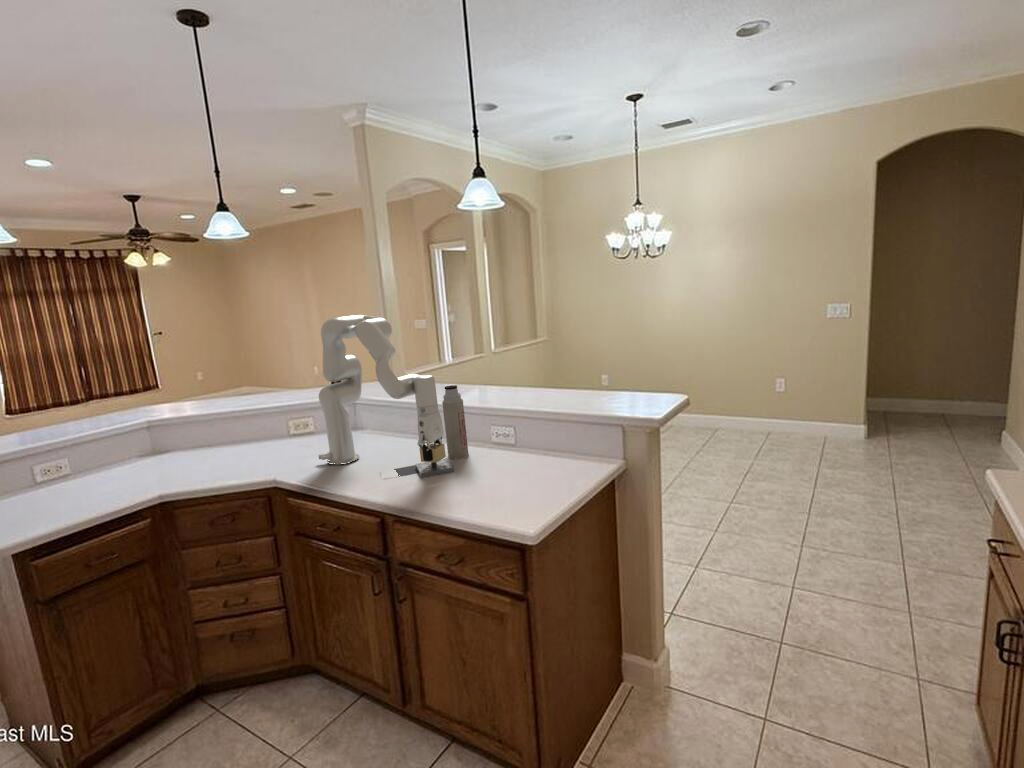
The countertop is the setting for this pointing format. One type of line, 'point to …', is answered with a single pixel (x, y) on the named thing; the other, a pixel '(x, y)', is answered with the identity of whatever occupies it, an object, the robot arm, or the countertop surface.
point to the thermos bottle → (454, 423)
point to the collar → (435, 452)
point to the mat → (406, 470)
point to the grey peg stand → (434, 467)
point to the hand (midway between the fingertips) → (433, 457)
